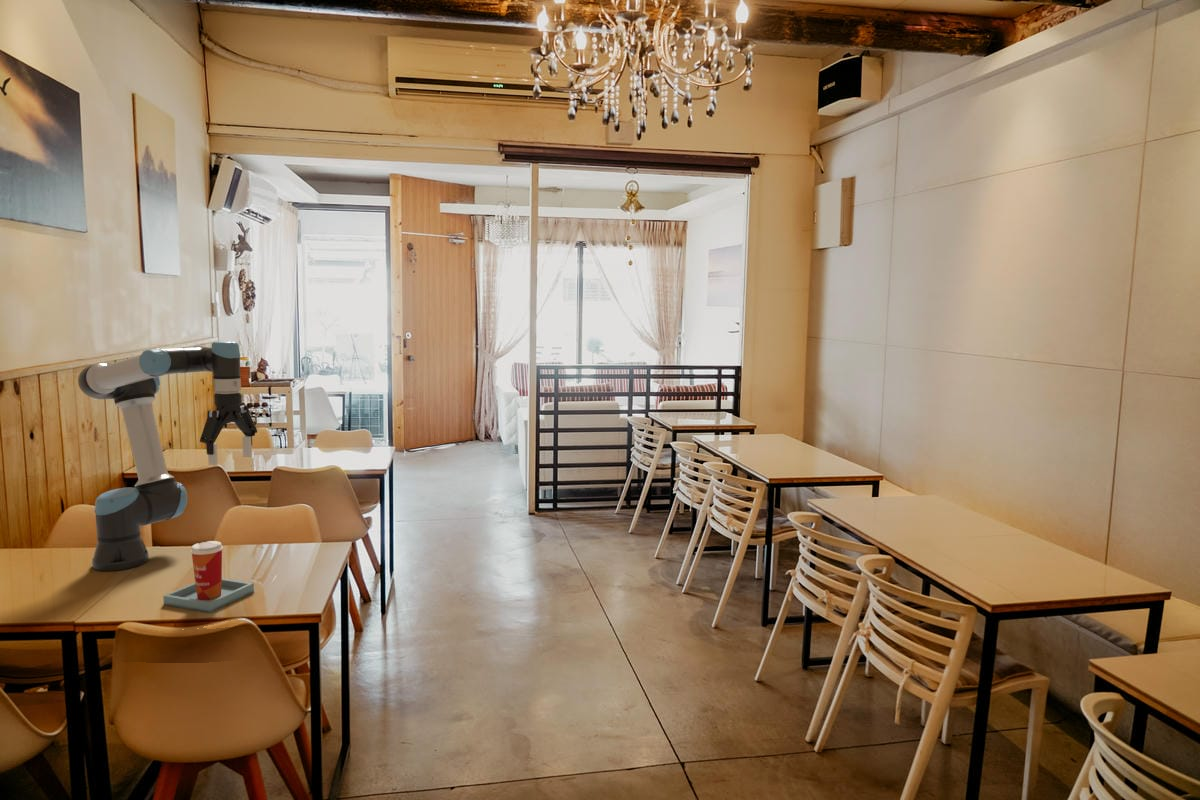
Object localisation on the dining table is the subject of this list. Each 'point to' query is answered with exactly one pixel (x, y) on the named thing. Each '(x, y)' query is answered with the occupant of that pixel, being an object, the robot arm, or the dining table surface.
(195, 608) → the tray
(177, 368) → the robot arm
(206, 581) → the coffee cup
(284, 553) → the dining table surface
